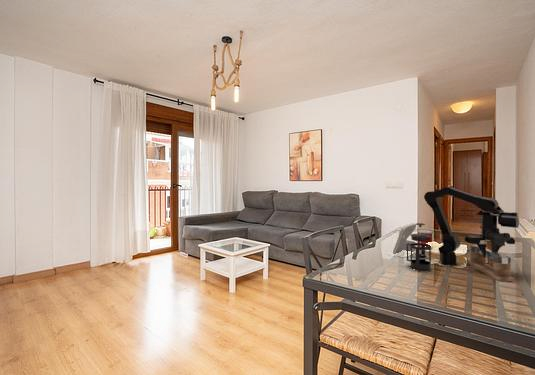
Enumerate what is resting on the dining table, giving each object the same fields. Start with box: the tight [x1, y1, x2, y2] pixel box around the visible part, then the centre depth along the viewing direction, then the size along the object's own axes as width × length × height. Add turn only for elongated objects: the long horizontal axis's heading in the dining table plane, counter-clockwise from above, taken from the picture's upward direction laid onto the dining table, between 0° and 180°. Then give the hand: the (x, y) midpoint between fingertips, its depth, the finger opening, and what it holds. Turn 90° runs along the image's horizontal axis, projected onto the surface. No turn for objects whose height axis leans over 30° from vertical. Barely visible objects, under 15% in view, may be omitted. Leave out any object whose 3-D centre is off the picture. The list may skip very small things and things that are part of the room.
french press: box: [406, 222, 432, 272], centre depth 140 cm, size 12×9×23 cm
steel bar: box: [472, 244, 509, 264], centre depth 132 cm, size 2×22×3 cm, turn 171°
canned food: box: [417, 229, 433, 247], centre depth 176 cm, size 8×8×11 cm
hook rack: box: [467, 245, 516, 283], centre depth 132 cm, size 6×24×10 cm, turn 171°
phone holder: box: [392, 222, 417, 254], centre depth 167 cm, size 17×10×18 cm, turn 130°
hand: (489, 257), depth 132 cm, fingers open, 4 cm apart
